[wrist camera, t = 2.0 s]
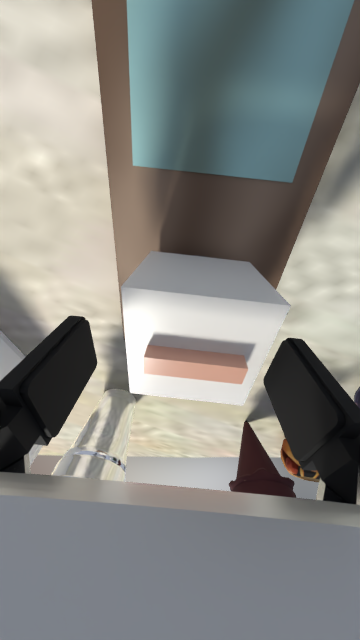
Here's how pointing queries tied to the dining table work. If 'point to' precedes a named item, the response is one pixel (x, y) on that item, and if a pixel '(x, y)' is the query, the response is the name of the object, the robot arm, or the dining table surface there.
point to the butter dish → (3, 359)
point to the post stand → (220, 121)
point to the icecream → (258, 470)
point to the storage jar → (357, 398)
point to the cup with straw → (102, 440)
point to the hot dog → (296, 465)
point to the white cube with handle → (198, 327)
